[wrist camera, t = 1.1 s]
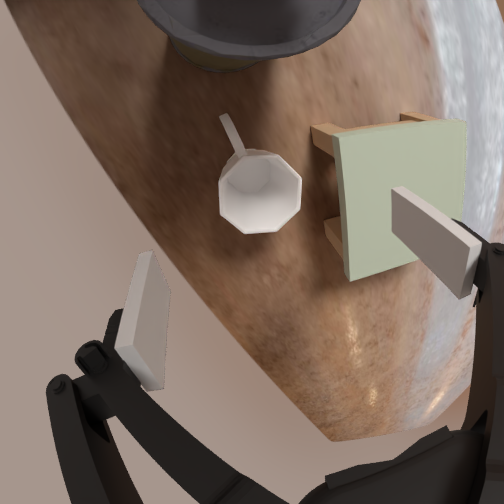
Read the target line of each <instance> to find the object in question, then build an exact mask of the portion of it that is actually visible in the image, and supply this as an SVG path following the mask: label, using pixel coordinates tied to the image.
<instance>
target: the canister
mask: <svg viewBox="0 0 504 504" xmlns="http://www.w3.org/2000/svg"><path fill="white" fill-rule="evenodd" d="M137 1H138V4H139V5H140V7H141V8H142V9H143V11H144V12H145V14H146V15H147V16H148V17H149V19H150V20H151V21H152V22H153V23H154V24H155V25H156V26H157V27H159V28H160V29H161V30H162V31H164V32H165V33H166V34H167V35H169V37H170V40H171V42H172V44H173V46H174V48H175V49H176V51H177V52H178V53H179V54H180V55H181V57H183V58H184V59H185V60H186V61H188V62H189V63H191V64H192V65H194V66H196V67H198V68H201V69H204V70H207V71H212V72H224V73H225V72H234V71H238V70H243V69H245V68H248V67H250V66H252V65H254V64H256V63H258V62H259V61H260V60H270V59H277V58H284V57H289V56H293V55H296V54H300V53H303V52H306V51H308V50H310V49H313V48H315V47H318V46H320V45H321V44H323V43H324V42H326V41H327V40H329V39H331V38H332V37H334V36H335V35H337V34H338V33H339V32H340V31H341V30H342V29H343V28H344V27H345V26H346V25H347V24H348V23H349V22H350V20H351V19H352V17H353V16H354V14H355V12H356V10H357V8H358V6H359V3H360V1H361V0H137Z"/></svg>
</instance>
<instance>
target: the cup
mask: <svg viewBox="0 0 504 504" xmlns="http://www.w3.org/2000/svg"><path fill="white" fill-rule="evenodd" d="M219 118H220V120H221V122H222V124H223V126H224V129H225V131H226V133H227V135H228V137H229V139H230V141H231V144H232V146H233V148H234V150H235V153H234V154H233V155H232V156H231V157H230V158H229V159H228V160H227V164H226V165H225V166H224V167H223V169H222V173H221V176H220V178H219V182H218V185H219V205H220V215H221V216H222V217H224V218H225V219H226V220H227V221H229V222H230V223H231V224H232V225H234V226H235V227H236V228H237V229H239V230H240V231H241V232H242V233H244V234H253V233H266V232H277V231H278V230H279V229H280V228H281V227H282V226H283V225H284V224H285V223H286V222H288V221H289V220H290V219H291V218H292V217H293V216H294V215H295V214H296V213H297V212H298V211H299V210H300V205H301V188H302V178H301V177H300V175H299V174H298V173H297V172H296V171H295V170H294V169H293V168H292V167H291V166H290V165H289V164H288V163H287V162H286V161H285V160H283V159H282V158H281V157H280V156H279V155H277V154H275V153H271V152H268V151H266V150H256V149H245V147H244V145H243V143H242V141H241V139H240V137H239V135H238V132H237V130H236V128H235V126H234V124H233V122H232V120H231V119H230V117H229V115H228V113H225V114H223V115H221V116H219Z"/></svg>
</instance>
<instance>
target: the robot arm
mask: <svg viewBox="0 0 504 504" xmlns="http://www.w3.org/2000/svg"><path fill="white" fill-rule="evenodd" d="M391 204H392V230H391V232H392V233H393V234H394V235H396V236H397V237H398V238H399V239H400V240H401V241H402V242H403V243H404V244H405V245H406V246H407V247H408V248H409V249H410V250H411V251H412V252H413V253H414V254H415V255H416V256H417V257H418V258H419V259H420V260H421V261H422V262H423V263H424V264H425V265H426V266H427V267H428V268H429V269H430V270H431V271H432V272H433V273H434V274H435V275H436V276H437V277H438V278H439V279H440V280H441V281H442V282H443V283H444V284H445V285H446V286H447V287H448V288H449V289H450V290H451V292H452V293H453V294H454V295H455V296H456V297H457V298H458V299H461V298H463V297H466V296H468V295H470V294H471V290H472V287H473V283H474V284H475V285H476V286H477V287H478V290H477V294H476V297H475V301H474V304H473V307H475V305H476V333H475V349H474V361H473V370H472V379H471V387H470V394H469V400H468V406H467V412H466V417H465V420H464V423H463V425H462V428H461V430H454V431H449V429H448V427H447V426H444V427H442V428H440V429H438V430H437V431H435V432H433V433H431V434H429V435H427V436H425V437H423V438H421V439H419V440H418V441H417V442H416V443H415V444H413V445H412V446H411V447H409V448H408V449H407V450H406V451H404V452H403V453H402V454H400V455H399V456H398V457H396V458H395V459H393V460H389V461H383V462H376V463H370V464H362V465H357V466H354V467H351V468H348V469H345V470H342V471H339V472H336V473H333V474H329V475H326V476H325V483H322V484H321V485H319V486H317V487H316V488H315V489H313V490H312V491H311V492H309V493H308V494H307V495H306V496H305V497H304V498H303V499H302V500H301V501H300V503H299V504H504V244H501V243H491V244H490V243H488V242H487V241H486V240H485V239H483V238H482V237H481V236H479V235H478V234H477V233H475V232H473V230H471V229H470V228H468V227H467V226H466V225H465V224H463V223H462V222H460V221H458V220H455V219H453V218H451V219H450V218H449V217H447V216H446V215H445V214H443V213H442V212H440V211H439V210H438V209H436V208H435V207H433V206H432V205H430V204H429V203H427V202H426V201H424V200H423V199H421V198H420V197H418V196H417V195H415V194H414V193H412V192H411V191H409V190H408V189H406V188H405V187H403V186H400V187H395V188H391ZM170 294H171V291H170V288H169V286H168V284H167V282H166V280H165V277H164V275H163V273H162V270H161V268H160V266H159V264H158V261H157V259H156V256H155V254H154V252H153V250H150V251H146V252H142V253H139V256H138V259H137V263H136V266H135V269H134V273H133V276H132V280H131V283H130V288H129V291H128V294H127V298H126V302H125V306H124V308H123V309H118V310H115V311H114V313H113V314H112V316H111V317H110V318H109V322H108V325H107V329H106V332H105V336H104V340H103V343H102V342H100V341H98V340H97V341H96V340H93V341H89V342H87V343H85V344H84V345H82V346H81V347H80V348H79V349H78V351H77V353H76V355H75V363H76V364H77V366H78V367H79V368H80V369H81V370H82V372H83V373H84V374H85V375H83V376H81V377H79V378H76V379H74V380H72V379H71V378H70V377H69V376H68V375H66V374H60V375H58V376H56V377H54V378H53V379H52V380H51V381H50V382H49V384H48V386H47V388H46V396H47V404H48V410H49V416H50V421H51V427H52V432H53V437H54V442H55V446H56V451H57V455H58V459H59V462H60V466H61V471H62V474H63V478H64V481H65V485H66V488H67V491H68V494H69V497H70V501H71V503H72V504H143V502H142V500H141V498H140V496H139V494H138V492H137V490H136V488H135V486H134V484H133V482H132V480H131V478H130V476H129V474H128V471H127V469H126V467H125V465H124V462H123V460H122V458H121V456H120V453H119V451H118V448H117V446H116V443H115V441H114V439H113V436H112V434H111V431H110V428H109V426H108V423H107V420H106V419H108V418H111V417H113V416H116V417H117V418H118V419H119V420H120V421H121V423H122V424H123V425H124V426H125V428H126V429H127V430H128V431H129V432H130V433H131V435H132V436H133V437H134V438H135V439H136V440H137V442H139V444H140V445H141V446H142V447H143V448H144V449H145V451H146V452H147V453H148V454H149V455H150V456H151V457H152V458H153V459H154V460H155V461H156V462H157V463H158V464H159V465H160V466H161V467H162V469H164V470H165V471H166V473H167V474H168V475H169V476H171V478H173V479H174V480H175V481H176V482H177V483H178V484H179V485H180V486H181V487H182V488H183V489H184V490H185V491H186V492H187V493H188V494H190V495H191V496H192V497H193V498H194V499H195V500H196V501H197V502H198V503H200V504H289V503H287V502H286V501H284V500H283V499H281V498H279V497H278V496H276V495H275V494H273V493H271V492H270V491H268V490H267V489H265V488H264V487H262V486H261V485H259V484H258V483H256V482H255V481H253V480H252V479H250V478H249V477H247V476H245V475H243V474H241V473H239V472H238V471H236V470H235V469H234V468H232V467H231V466H230V465H228V464H227V463H226V462H225V461H223V460H222V459H221V458H219V457H218V456H217V455H216V454H214V453H213V452H212V451H210V450H209V449H208V448H207V447H205V446H204V445H203V444H202V443H201V442H199V441H198V440H197V439H196V438H195V437H193V436H192V435H191V434H190V433H189V432H188V431H186V430H185V429H184V428H183V427H182V426H181V425H180V424H179V423H177V422H176V421H175V420H174V419H173V418H172V417H171V416H170V415H169V414H168V413H166V412H165V411H164V410H163V409H162V408H161V407H160V406H159V405H158V404H157V403H156V402H155V401H154V400H153V399H152V398H151V397H150V396H149V395H148V394H147V393H146V392H145V391H144V390H143V389H142V388H141V387H140V386H141V385H142V386H143V387H144V388H145V390H146V391H154V390H161V389H164V374H165V373H164V372H165V356H166V341H167V328H168V315H169V304H170Z"/></svg>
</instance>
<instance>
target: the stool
mask: <svg viewBox="0 0 504 504" xmlns="http://www.w3.org/2000/svg"><path fill="white" fill-rule="evenodd" d="M400 117H401V121H400V122H392V123H384V124H376V125H369V126H362V127H356V128H349V129H343V128H341V127H338V126H336V125H333V124H331V123H324V124H318V125H313V126H311V132H312V138H313V144H314V145H315V146H317V147H319V148H320V149H322V150H323V151H325V152H326V153H328V154H329V155H331V156H332V157H334V158H335V166H336V175H337V184H338V194H339V205H340V216H341V217H340V216H338V217H334V218H330V219H326V220H324V229H325V236H326V237H327V238H328V240H329V241H330V242H331V244H332V245H333V247H334V248H335V249H336V251H337V252H338V254H339V255H340V256H341V258H342V259H343V261H344V274H345V275H346V277H347V278H348V280H349V281H350V282H351V281H354V280H357V279H361V278H364V277H367V276H370V275H373V274H376V273H380V272H383V271H386V270H389V269H392V268H395V267H398V266H401V265H404V264H407V263H410V262H413V261H416V260H419V258H418V257H417V256H416V255H415V254H414V253H413V252H412V251H411V250H410V249H409V248H408V247H407V246H406V245H405V244H404V243H403V242H402V241H401V240H400V239H399V238H398V237H397V236H396V235H394V234H393V233H392V232H391V230H392V204H391V188H395V187H400V186H403V187H405V188H406V189H408V190H409V191H411V192H412V193H414V194H415V195H417V196H418V197H420V198H421V199H423V200H424V201H426V202H427V203H429V204H430V205H432V206H433V207H435V208H436V209H438V210H439V211H440V212H442V213H443V214H445V215H446V216H447V217H449V218H450V219H451V218H453V219H455V220H458V221H460V222H461V218H462V209H463V199H464V187H465V172H466V121H462V120H459V119H444V120H440V119H437V118H434V117H430V116H427V115H423V114H420V113H416V112H406V113H400Z"/></svg>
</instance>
